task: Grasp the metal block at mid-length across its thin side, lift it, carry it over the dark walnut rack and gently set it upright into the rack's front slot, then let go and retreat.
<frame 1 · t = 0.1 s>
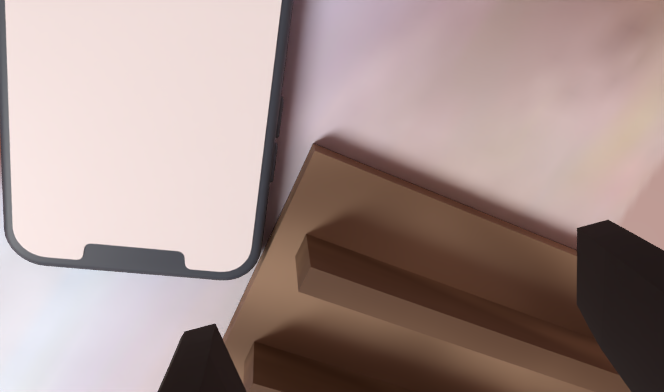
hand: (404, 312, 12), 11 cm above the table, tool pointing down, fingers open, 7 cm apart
rack: (450, 348, 26), on the table
phone case: (153, 38, 20), on the table
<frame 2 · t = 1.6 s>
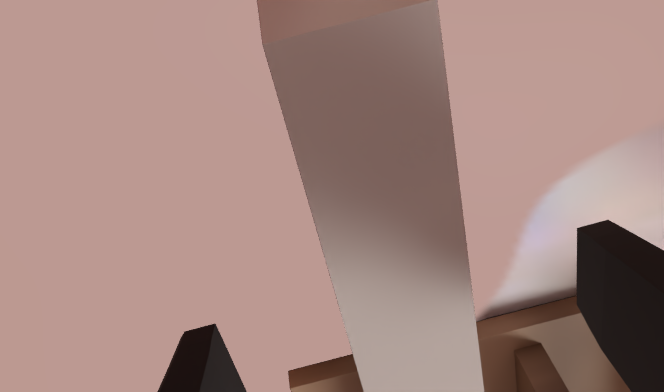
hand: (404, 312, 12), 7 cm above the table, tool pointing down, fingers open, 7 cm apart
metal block: (351, 151, 18), on the table
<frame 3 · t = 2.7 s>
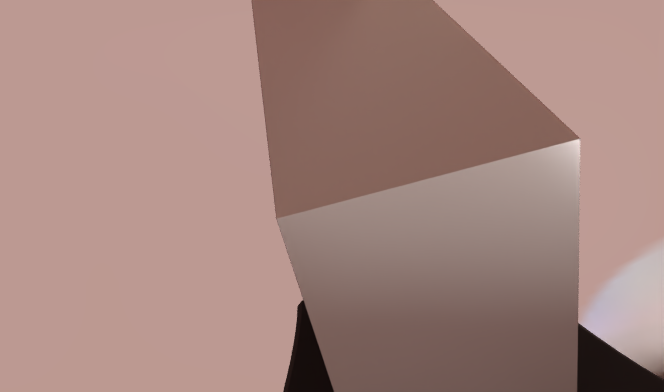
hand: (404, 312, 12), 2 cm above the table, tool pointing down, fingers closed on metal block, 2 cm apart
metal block: (378, 239, 14), on the table, touching gripper
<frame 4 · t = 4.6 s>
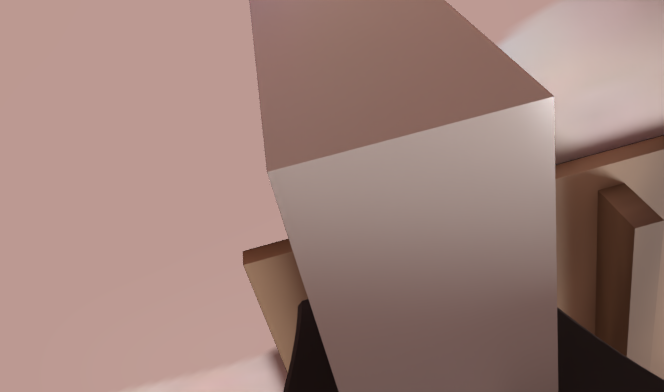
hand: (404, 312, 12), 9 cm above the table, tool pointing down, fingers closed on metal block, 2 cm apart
rack: (434, 368, 27), on the table
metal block: (372, 222, 14), point 6 cm above the table, touching gripper
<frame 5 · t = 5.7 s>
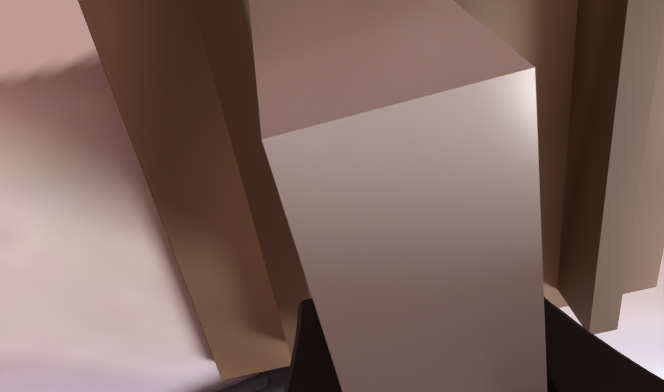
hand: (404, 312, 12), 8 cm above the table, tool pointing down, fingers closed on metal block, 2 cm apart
rack: (341, 127, 19), on the table
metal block: (370, 213, 15), point 5 cm above the table, touching gripper
when the fingers open (5 cm above the table, at t = 6.5 s): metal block stays where it is, resting on rack.
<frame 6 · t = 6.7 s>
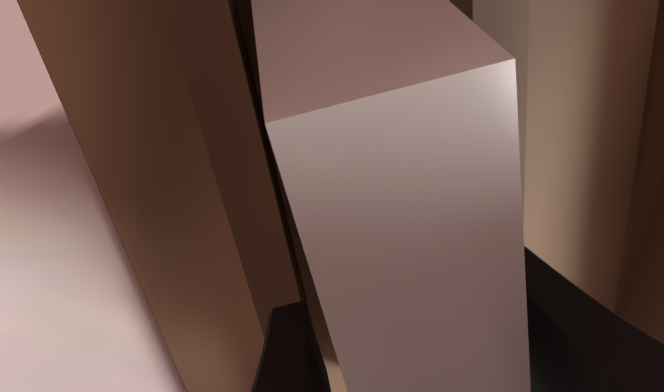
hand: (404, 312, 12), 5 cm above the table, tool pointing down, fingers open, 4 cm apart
rack: (361, 190, 16), on the table
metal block: (365, 201, 15), point 1 cm above the table, touching rack
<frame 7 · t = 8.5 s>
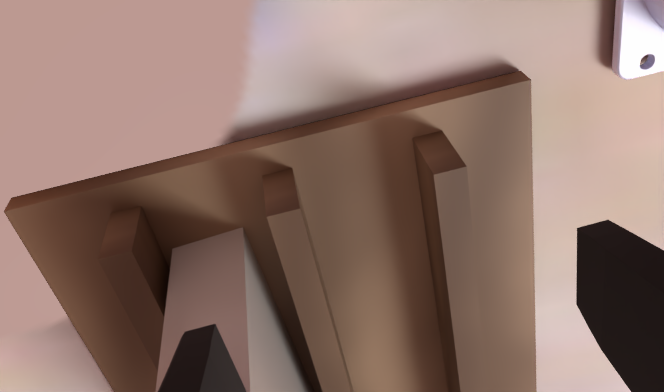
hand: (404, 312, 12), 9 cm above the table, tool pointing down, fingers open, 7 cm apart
rack: (264, 342, 25), on the table
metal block: (263, 354, 24), point 1 cm above the table, touching rack
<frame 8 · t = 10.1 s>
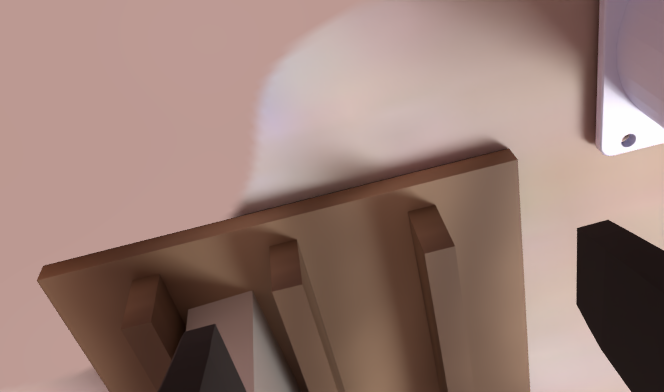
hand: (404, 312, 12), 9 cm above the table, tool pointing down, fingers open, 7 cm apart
rack: (273, 386, 26), on the table
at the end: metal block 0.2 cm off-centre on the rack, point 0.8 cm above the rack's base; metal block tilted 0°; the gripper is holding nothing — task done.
